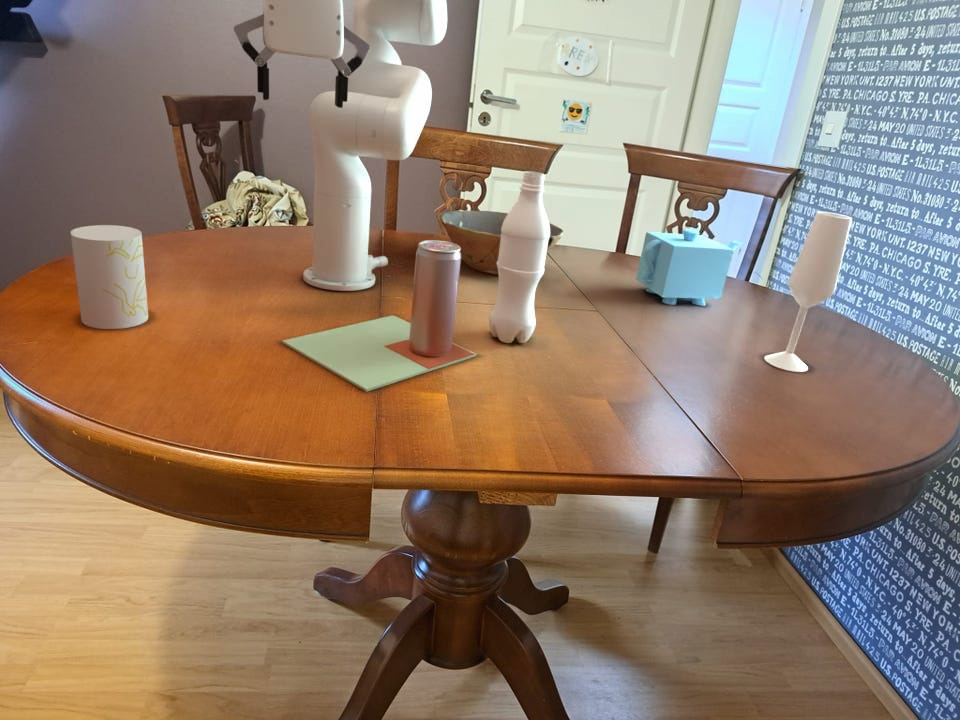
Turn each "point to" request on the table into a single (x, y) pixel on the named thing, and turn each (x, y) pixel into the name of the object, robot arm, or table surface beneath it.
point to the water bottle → (521, 262)
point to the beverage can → (434, 297)
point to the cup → (110, 276)
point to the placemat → (372, 352)
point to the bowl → (482, 236)
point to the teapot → (684, 266)
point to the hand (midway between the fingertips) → (302, 103)
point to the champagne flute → (814, 277)
